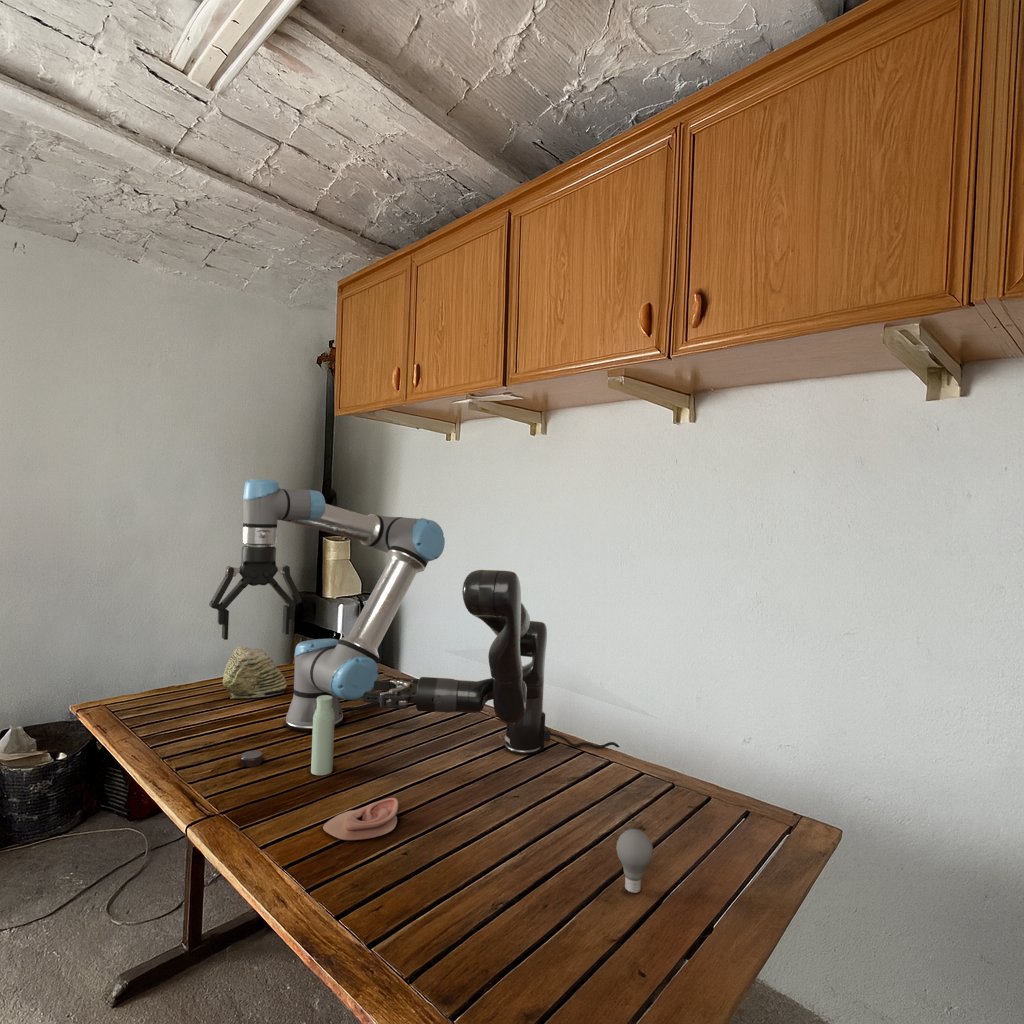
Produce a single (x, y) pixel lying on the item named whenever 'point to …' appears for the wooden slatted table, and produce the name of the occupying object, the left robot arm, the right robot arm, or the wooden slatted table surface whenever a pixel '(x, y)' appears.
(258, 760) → the cap
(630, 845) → the light bulb
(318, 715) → the bottle
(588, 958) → the wooden slatted table surface
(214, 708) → the wooden slatted table surface
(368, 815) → the anatomical model
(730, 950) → the wooden slatted table surface
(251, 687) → the fossil
